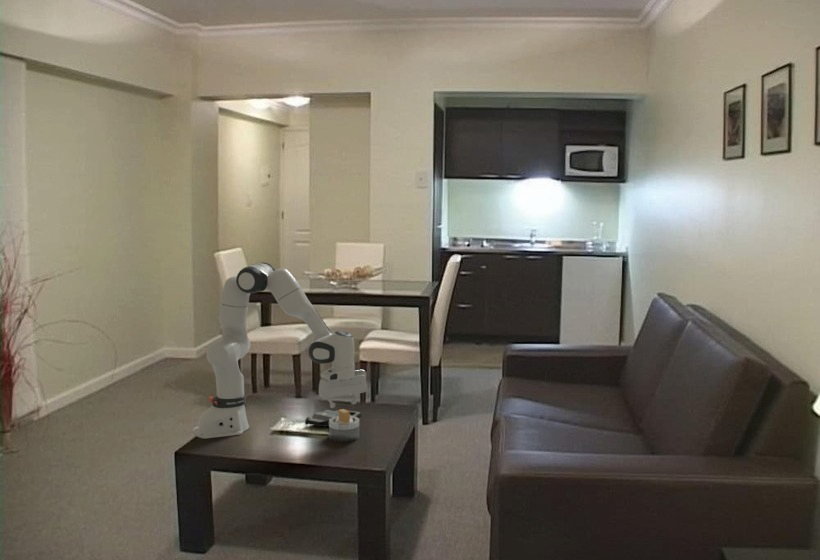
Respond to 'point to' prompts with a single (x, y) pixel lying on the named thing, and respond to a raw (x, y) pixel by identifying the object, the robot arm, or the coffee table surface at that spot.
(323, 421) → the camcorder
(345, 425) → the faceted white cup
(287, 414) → the coffee table surface
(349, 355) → the robot arm
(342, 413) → the block on round base
